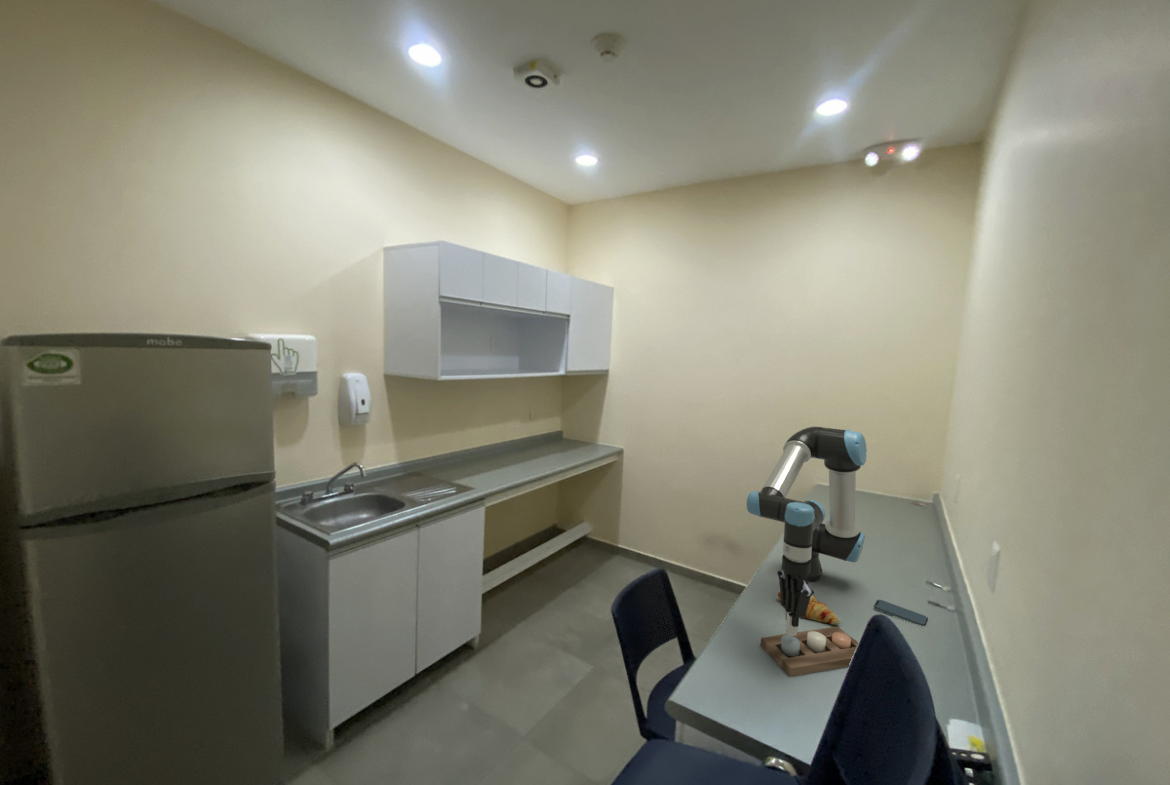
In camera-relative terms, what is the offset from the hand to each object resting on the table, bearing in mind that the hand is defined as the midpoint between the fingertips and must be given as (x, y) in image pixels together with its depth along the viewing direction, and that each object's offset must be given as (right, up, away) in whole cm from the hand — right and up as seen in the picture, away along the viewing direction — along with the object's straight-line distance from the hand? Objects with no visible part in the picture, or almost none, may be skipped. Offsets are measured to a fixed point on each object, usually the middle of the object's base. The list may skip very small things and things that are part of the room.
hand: (791, 634), depth 137 cm
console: (+9, -7, +3) cm, 12 cm away
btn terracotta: (+17, -7, +5) cm, 19 cm away
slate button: (0, -5, +1) cm, 6 cm away
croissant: (+16, -6, +25) cm, 30 cm away
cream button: (+9, -5, +3) cm, 11 cm away
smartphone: (+49, -7, +25) cm, 56 cm away
